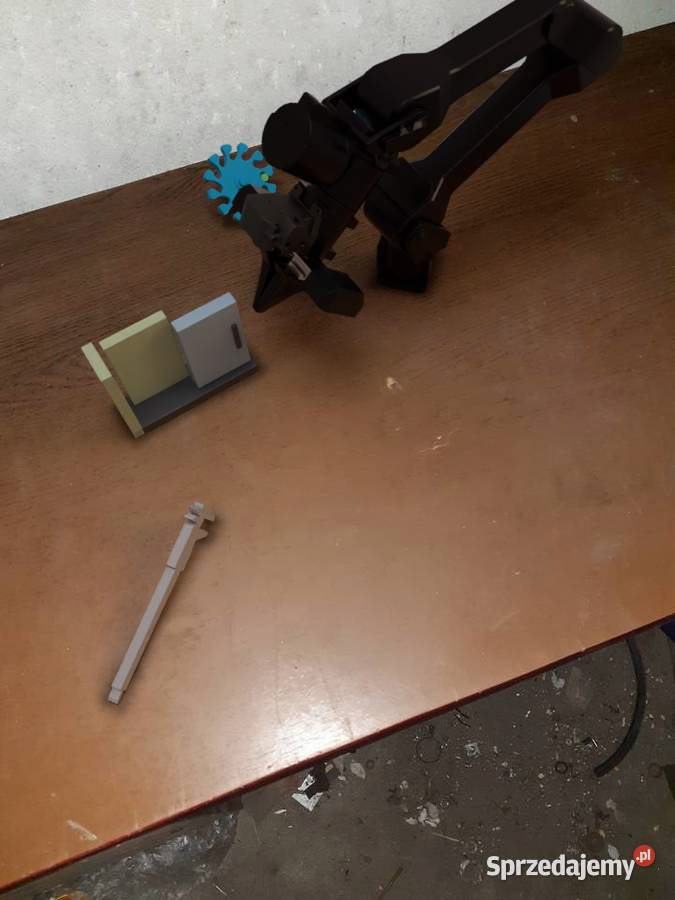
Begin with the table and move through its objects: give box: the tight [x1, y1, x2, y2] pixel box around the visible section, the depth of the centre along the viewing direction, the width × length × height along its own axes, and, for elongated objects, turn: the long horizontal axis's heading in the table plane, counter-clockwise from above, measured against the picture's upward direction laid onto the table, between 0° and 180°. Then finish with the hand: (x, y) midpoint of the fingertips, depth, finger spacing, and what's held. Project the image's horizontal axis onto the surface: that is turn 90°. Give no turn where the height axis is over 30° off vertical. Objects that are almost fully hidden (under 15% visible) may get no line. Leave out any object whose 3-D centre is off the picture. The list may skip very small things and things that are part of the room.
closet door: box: [170, 291, 250, 388], centre depth 76 cm, size 7×2×11 cm, turn 124°
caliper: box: [107, 501, 216, 705], centre depth 67 cm, size 20×1×6 cm, turn 158°
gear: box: [202, 142, 277, 223], centre depth 94 cm, size 11×6×10 cm
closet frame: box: [80, 309, 260, 439], centre depth 76 cm, size 16×5×12 cm, turn 124°
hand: (256, 310), depth 78 cm, fingers closed
